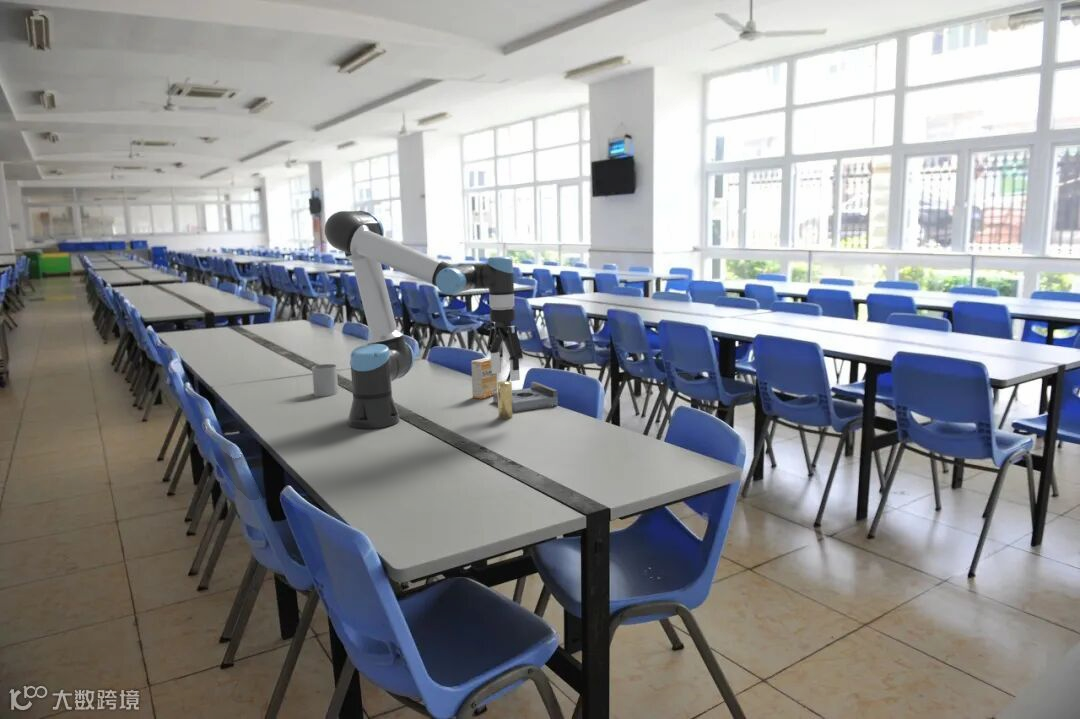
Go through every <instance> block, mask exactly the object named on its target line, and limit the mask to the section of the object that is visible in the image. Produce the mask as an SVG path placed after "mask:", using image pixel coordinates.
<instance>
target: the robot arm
mask: <svg viewBox="0 0 1080 719" xmlns="http://www.w3.org/2000/svg"><path fill="white" fill-rule="evenodd" d="M384 233H385V231H384V226H383V223H382V221H381V220H380V219H379V218H378V217H377V216H376V215H375V214H373V213H371V212H367V211H363V210H358V211H357V210H349V211H348V210H342V211H337V212H334V213H333V214H332V215H330V216H329V217H328V218H327V220H326V221H325V224H324V236H325V239H326V241H327V242H328V243H329V245H331V247H333V248H335V249H336V250H339V251H341V252H344V255H345V259H346V260H348V261H350V262H351V263H352V268H353V271H354V274H355V275H354V276H355V280H356V283H357V287H358V290H359V295H360V299H361V302H362V303H361V304H362V308H363V311H364V315H365V318H366V323H367V327H368V331H369V335H370V338H368V340H367V344H365V345H360V346H357V347H356V348H354V349H353V350H352V351H351V353H350V361H349V366H350V373H351V387H352V403H351V407H350V411H349V414H348V425H349V426H350V427H352V428H355V429H362V430H363V429H365V430H369V429H370V430H371V429H381V428H387V427H391V426H393V425H397V424H398V423H400V413H399V410H398V408H397V405H396V403H395V400H394V398H393V393H392V392H393V391H392V390H393V389H392V382H393V381H396V380H397V379H401V378H403V377H405V376H406V375H407V374H408V373H409V372H410V371H411V370H412V368H413V367H414V363H415V353H414V350H413V348H412V347H411V345H410V344H408V343H407V342H406V341H405V336H404V334H403V333H402V332H400V331H399V330H398V326H397V324H396V320H395V316H394V312H393V308H392V304H391V299H390V295H389V291H388V287H387V282H386V280H385V275H384V271H383V267H382V265H384V266H387V267H389V268H391V269H394V270H396V271H399V272H401V273H404V274H405V275H408V276H409V277H410V276H411V277H413V278H415V279H417V280H420V281H422V282H425V283H427V284H430V285H432V286H434V287H436V288H437V289H438V290H439V291H440V292H442V294H445V295H457V294H459V293H462V292H466V291H468V290H480V289H481V290H482V289H485V290H486V289H488V291H489V293H488V296H489V297H488V300H489V308H490V310H489V315H490V316H489V317H490V318H489V319H490V322H489V325H490V326H489V335H488V339H487V346H486V349H487V350H488V351H489V353H490V358H491V369H492V374H495V373H497V374H500V373H501V356H500V352H501V350H500V347H501V344H502V341H503V342H504V343H505V346H506V349H507V351H508V354H509V358H508V360H509V376H510V378H509V379H510V380H509V381H510V382H515V381H520V380H521V379H520V378H521V377H520V359H521V358H523V357H524V356H523V351H522V347H521V343H520V339H519V336H518V327H517V325H512V322H514V321H515V320H516V310H515V308H514V307H515V299H516V296H515V288H514V287H515V286H514V282H515V281H514V280H515V279H514V273H515V270H514V265H513V259H512V257H510V256H491V257H488V258H487V262H486V263H482V264H481V263H480V264H479V263H458V264H452V263H451V264H450V263H449V262H445V261H443V260H441V259H439V258H436V257H435V256H432V255H430V254H429V255H428V254H426V253H424V252H423V251H419V250H417V249H414V248H413V247H410V246H407V245H405V244H403V243H401V242H398V241H395V240H393V239H390V238H388V237H386V236H385V234H384Z"/></svg>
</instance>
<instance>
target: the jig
mask: <svg viewBox="0 0 1080 719" xmlns="http://www.w3.org/2000/svg"><path fill="white" fill-rule="evenodd" d="M558 395H559V392H558V389H555V388H552V387H551V386H547V385H544V384H542V383H539V382H537V381H531V382H530V387H528V388H527V387H526V388H522V389H521V388H520V389H515V390H514V389H512V413H513V412H514V413H515V412H523V411H529V410H536V409H537V410H538V409H542V408H543V407H544V408H548V406H550V407H556V406H558V405H559V398H558V397H559V396H558ZM492 397H493V398H492V400H493V403H496V404H497V405H498V391H497V393H493V396H492ZM552 405H554V406H552Z"/></svg>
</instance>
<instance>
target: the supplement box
mask: <svg viewBox="0 0 1080 719" xmlns="http://www.w3.org/2000/svg"><path fill="white" fill-rule="evenodd" d="M497 375H498V373H495V374H492V369H491V357H484V358H480V359H479V358H478V359H475V360H471V385H472V386H471V389H472V391H471V393H472V398H474V399H481V400H483V399H486V398H490V397H493V396H492V395H493V393H497V392H498V388H497V383H498V378H497V377H498V376H497ZM489 396H490V397H489Z"/></svg>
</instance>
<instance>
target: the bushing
mask: <svg viewBox="0 0 1080 719" xmlns="http://www.w3.org/2000/svg"><path fill="white" fill-rule="evenodd" d="M512 383H513V381H511V380H508V381H507V380H502V381H497V392H498V404H497V416H498V419H501V420H509V419H513V415H514V414H513V411H512V390H513V387H512V385H513V384H512Z"/></svg>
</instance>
